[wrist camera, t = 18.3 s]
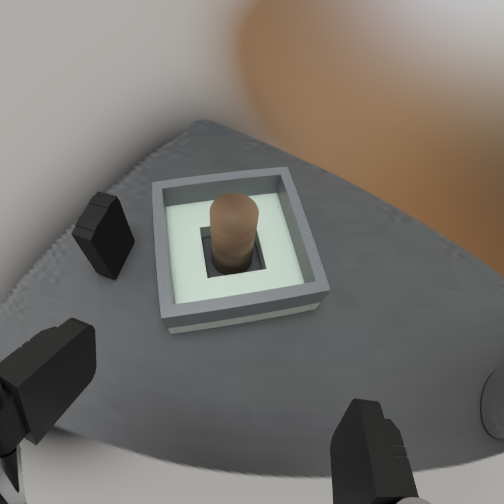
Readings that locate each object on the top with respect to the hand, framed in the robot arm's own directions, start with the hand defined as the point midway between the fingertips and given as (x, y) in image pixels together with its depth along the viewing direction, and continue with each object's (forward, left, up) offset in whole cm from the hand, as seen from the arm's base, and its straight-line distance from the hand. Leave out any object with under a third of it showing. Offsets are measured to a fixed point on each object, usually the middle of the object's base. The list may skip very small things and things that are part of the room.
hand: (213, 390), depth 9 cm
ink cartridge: (+8, -16, -20) cm, 27 cm away
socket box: (-4, -14, -20) cm, 25 cm away
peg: (-4, -14, -20) cm, 25 cm away
